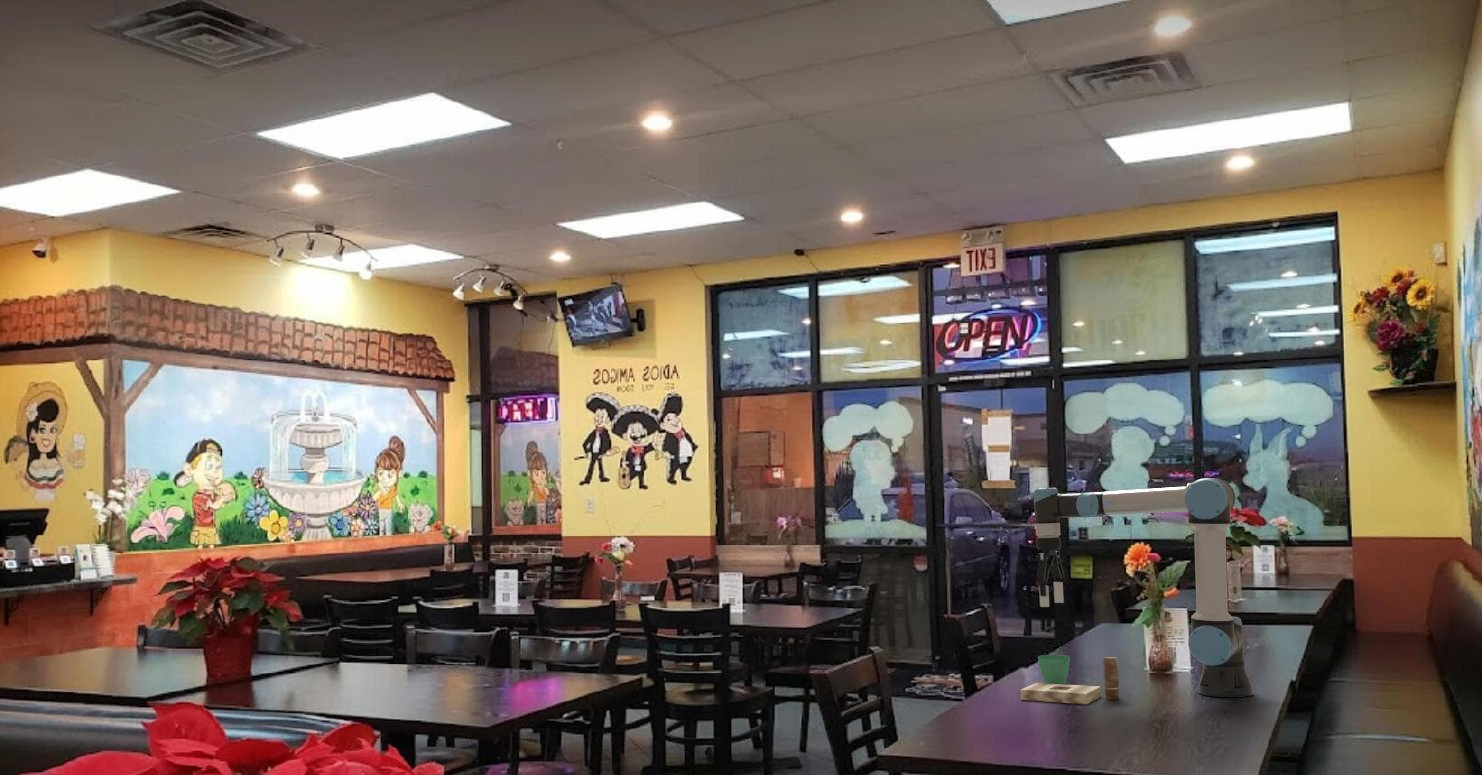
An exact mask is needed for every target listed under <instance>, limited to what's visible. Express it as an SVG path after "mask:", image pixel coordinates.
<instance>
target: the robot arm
mask: <svg viewBox="0 0 1482 775" xmlns="http://www.w3.org/2000/svg"><path fill="white" fill-rule="evenodd" d="M1033 492H1034V493H1033V508H1034V519H1035V526H1034V528H1033V529H1034V530H1035V536H1037V537H1036V539H1035V540H1036V541H1035V542H1036V543H1035V544H1036V549H1037V550H1039V551H1041V552H1039V553H1038V554H1037V569H1036V577H1035V585H1036V586H1038V590H1039V591H1038V592H1039V595H1038V596H1039V607H1040V608H1049V607H1050V596H1049V594H1050V593H1049V590H1050V589H1049V585H1047V584H1048V580H1049V576H1050V572H1051V575H1052V577H1053V579H1054V580H1053V581H1054V582H1053V596H1054V603H1055V604H1057V603H1058V604H1060V603H1061V604H1063V603H1064V602H1065V600H1064V584H1063V583H1065V582H1066V576H1065V571H1064V568H1063V567H1064V566H1063V564H1062V559H1061V551H1060V550H1061V548H1062V540H1061V538H1060V537H1059V536H1061V523H1060V522H1061V521H1060V518H1061V519H1064V518H1085V519H1086V518H1093V517H1099V516H1100V517H1101V516H1114V515H1115V516H1116V515H1117V516H1119V515H1136V514H1137V515H1138V514H1157V513H1160V514H1161V513H1175V512H1177V513H1179V512H1182V513H1183V512H1187V515H1188V516H1187V517H1188V525H1189V526H1190V527H1191V528H1192V529H1193V531H1194V534H1193V536H1194V538H1193V539H1194V570H1195V573H1194V574H1195V576H1194V577H1195V602H1196V603H1195V604H1196V607H1195V608H1196V609H1195V610H1196V611H1195V612H1194V613H1193V614H1192V615H1191V617H1190V624H1191V625H1190V626H1191V632H1190V634H1189V637H1188V648H1189V653H1190V654H1191V655H1192V657H1193V658H1194V659H1195V660H1196V661H1197V662H1199V663H1201V664H1202V665H1203V667H1202V672H1201V676H1200V678H1199V682H1198V693H1199V694H1201V695H1204V696H1209V697H1215V698H1216V697H1217V698H1241V697H1242V698H1243V697H1250V696H1252V695H1254V689H1253V688H1254V687H1253V685H1252V682H1251V680H1250V678H1249V674H1248V672H1247V669H1246V666H1245V665H1246V664H1245V651H1244V650H1245V649H1244V647H1245V646H1244V636H1243V635H1244V634H1243V633H1244V632H1243V629H1244V627H1243V623H1242V619H1241V618H1240V617H1238V616H1232V615H1231V614H1230V613H1229V610H1228V609H1229V608H1228V607H1229V606H1228V605H1229V604H1228V577H1227V576H1228V572H1227V543H1226V542H1227V541H1226V540H1227V539H1226V530H1227V529H1228V528H1229V527H1230V526H1231V524H1232V523H1231V522H1232V521H1231V518H1232V517H1231V511H1232V509H1233V508H1234V506H1235V504H1236V499H1237V498H1236V493H1235V490H1234V488H1233V486H1232V485H1231V484H1230V483H1229V482H1227V481H1226V480H1223V479H1221V478H1217V477H1215V478H1214V477H1213V478H1212V477H1210V478H1209V477H1205V478H1204V477H1203V478H1200V479H1197V480H1194V481H1193V482H1189V483H1187V485H1186V486H1175V487H1161V488H1160V487H1158V488H1145V489H1143V488H1142V489H1127V490H1125V489H1124V490H1113V491H1111V490H1109V491H1095V492H1094V491H1089V492H1076V493H1073V492H1072V493H1059V491H1058V488H1056V487H1044V488H1043V487H1040V488H1035V490H1034V491H1033Z"/></svg>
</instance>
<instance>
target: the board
mask: <svg viewBox="0 0 1482 775" xmlns="http://www.w3.org/2000/svg"><path fill="white" fill-rule="evenodd" d="M1101 691H1102V689H1101V686H1097V685H1096V686H1095V685H1084V684H1083V685H1081V684H1080V685H1079V684H1066V683H1065V684H1049V683H1045V682H1034V683H1033V684H1030V685H1028V686H1026V687H1023V688H1021V689H1020V699H1021V701H1037V702H1047V703H1048V702H1049V703H1065V704H1078V705H1088V704H1090V703H1092V702H1093V701H1096V700H1098V699H1100V698H1101V697H1102V692H1101Z"/></svg>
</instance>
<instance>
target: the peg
mask: <svg viewBox="0 0 1482 775" xmlns="http://www.w3.org/2000/svg"><path fill="white" fill-rule="evenodd" d="M1102 661H1103V676H1104V677H1103V679H1104V694H1105V696H1104V697H1105V700H1109V701H1110V700H1111V701H1113V700H1114V701H1115V700H1117V701H1118V700H1120V683H1119V682H1120V681H1119V668H1118V657H1115V656H1105V657H1103V658H1102Z"/></svg>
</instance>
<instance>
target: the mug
mask: <svg viewBox="0 0 1482 775" xmlns="http://www.w3.org/2000/svg"><path fill="white" fill-rule="evenodd" d="M1037 660H1038V665H1039V669H1040V673H1041V676H1042V678H1043V681H1044V683H1049V684H1066V683H1067V680H1068V676H1069V670H1070V662H1071V656H1069V655H1065V654H1064V655H1063V654H1044V655H1043V654H1042V655H1039V656H1038V657H1037Z"/></svg>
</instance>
